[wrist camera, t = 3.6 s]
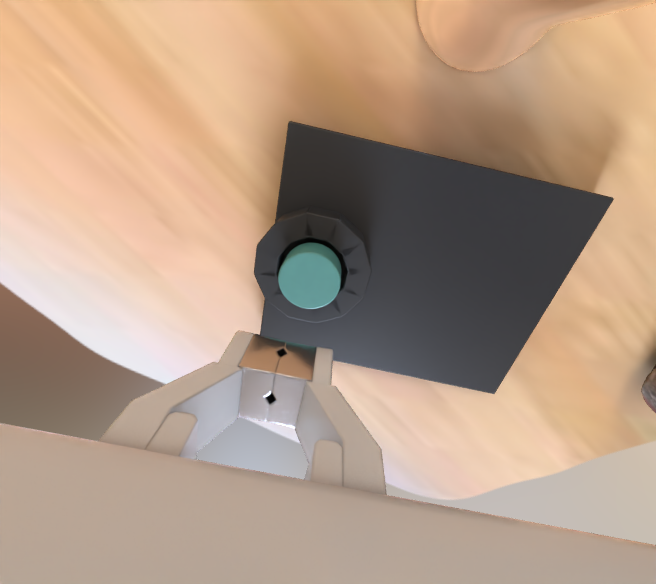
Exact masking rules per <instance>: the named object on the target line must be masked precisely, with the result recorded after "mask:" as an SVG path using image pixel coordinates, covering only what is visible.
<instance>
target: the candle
mask: <svg viewBox="0 0 656 584" xmlns="http://www.w3.org/2000/svg"><path fill="white" fill-rule="evenodd" d="M641 392H642V394H643V397H644V400H645V402H646V403H647V405H648V406H649V407H650V408H651V409H652V410H653V411H654V412H655V413H656V365H655V367H654V368H653V370H652V372H651V373H650V374H649V375H648V376H647V378H646V380H645V381H644V384H643V387H642V389H641Z"/></svg>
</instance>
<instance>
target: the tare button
mask: <svg viewBox="0 0 656 584" xmlns="http://www.w3.org/2000/svg"><path fill="white" fill-rule="evenodd" d="M278 282H279V286H280V289H281V291H282V293H283V295H284V296H285V297H286V298H287V299H288V300H289V301H290V302H291V303H293V304H294V305H296V306H299V307H301V308H306V309H316V308H320V307H323V306H325V305H327V304H329V303H330V302H331V301H333V300H334V298H335V297H336V296H337V294H338V292H339V289H340V285H341V264H340V261H339V259H338V257H337V256H336V254H335V253H334V252H333V251H332V250H331V249H330V248H328V247H326V246H324V245H322V244H319V243H304V244H301V245H298V246H296V247H295V248H293V249H292V250H291V251H290V252H289V254H288V255H287V257H286V259H285V261H284V262H283V264H282V266H281V268H280V271H279V275H278Z"/></svg>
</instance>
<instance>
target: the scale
mask: <svg viewBox="0 0 656 584" xmlns="http://www.w3.org/2000/svg"><path fill="white" fill-rule="evenodd" d="M612 201H613V198H612V197H608V196H604V195H600V194H596V193H591V192H587V191H583V190H579V189H574V188H570V187H566V186H562V185H558V184H553V183H549V182H545V181H541V180H537V179H532V178H528V177H524V176H520V175H516V174H511V173H507V172H503V171H499V170H494V169H490V168H486V167H482V166H478V165H473V164H469V163H465V162H461V161H457V160H452V159H448V158H444V157H440V156H435V155H431V154H427V153H423V152H419V151H414V150H410V149H406V148H402V147H398V146H393V145H389V144H385V143H381V142H376V141H372V140H368V139H364V138H360V137H355V136H351V135H347V134H343V133H339V132H334V131H330V130H326V129H322V128H317V127H313V126H309V125H305V124H301V123H296V122H292V121H289V123H288V130H287V137H286V145H285V152H284V160H283V167H282V175H281V182H280V190H279V197H278V205H277V212H276V219H275V224H274V225H273V226H272V227H271V229H270V230H269V231H268V232H267V233H266V235H265V236H264V237H263V238H262V239H261V241H260V242H259V243H258V244H257V249H256V258H255V267H254V273H255V274H254V275H255V277H256V279H257V282H258V284H259V286H260V288H261V290H262V292H263V295H264V297H265V302H264V309H263V316H262V324H261V331H260V335H263V336H267V337H271V338H276V339H280V340H284V341H288V342H293V343H298V344H303V345H308V346H313V347H321V348H327V349H332V350H333V360H334V361H339V362H344V363H348V364H353V365H358V366H363V367H368V368H372V369H377V370H382V371H387V372H391V373H396V374H401V375H406V376H411V377H415V378H420V379H425V380H430V381H434V382H439V383H444V384H449V385H454V386H458V387H463V388H468V389H473V390H478V391H482V392H487V393H492V394H494V393H495V392H496V390H497V389H498V387H499V386H500V384H501V382H502V381H503V379H504V377H505V376H506V374H507V372H508V371H509V369H510V368H511V366H512V364H513V363H514V361H515V359H516V358H517V356H518V355H519V353H520V351H521V350H522V348H523V346H524V345H525V343H526V341H527V340H528V338H529V337H530V335H531V333H532V332H533V330H534V328H535V327H536V325H537V324H538V322H539V320H540V319H541V317H542V315H543V314H544V312H545V311H546V309H547V307H548V306H549V304H550V302H551V301H552V299H553V297H554V296H555V294H556V293H557V291H558V289H559V288H560V286H561V284H562V283H563V281H564V280H565V278H566V276H567V275H568V273H569V271H570V270H571V268H572V267H573V265H574V263H575V262H576V260H577V258H578V257H579V255H580V253H581V252H582V250H583V249H584V247H585V245H586V244H587V242H588V240H589V239H590V237H591V236H592V234H593V232H594V231H595V229H596V227H597V226H598V224H599V222H600V221H601V219H602V218H603V216H604V214H605V213H606V211H607V209H608V208H609V206H610V205H611V203H612ZM304 243H319V244H322V245H324V246H326V247H328V248H330V249H331V250H332V251H333V252H334V253H335V254H336V256H337V257H338V259H339V261H340V264H341V285H340V289H339V292H338V294H337V296H336V297H335V298H334V300H333V301H331V302H330V303H329V304H327V305H325V306H323V307H320V308H316V309H306V308H301V307H299V306H296V305H294V304H293V303H291V302H290V301H289V300H288V299H287V298H286V297H285V296H284V295H283V293H282V291H281V289H280V286H279V282H278V275H279V271H280V268H281V266H282V264H283V262H284V261H285V259H286V257H287V255H288V254H289V252H290V251H291V250H292V249H293V248H295V247H296V246H298V245H301V244H304Z"/></svg>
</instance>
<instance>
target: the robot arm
mask: <svg viewBox="0 0 656 584" xmlns="http://www.w3.org/2000/svg"><path fill="white" fill-rule="evenodd" d="M332 362H333V350H332V349H327V348H321V347H313V346H308V345H303V344H298V343H293V342H288V341H284V340H280V339H276V338H271V337H267V336H263V335H258V334H253V333H249V332H244V331H237V332H236V333H235V335H234V337H233V338H232V340H231V342H230V344H229V345H228V347H227V349H226V350H225V352H224V354H223V356H222V357H221V359H220V361H219V362H218V363H216V362H212V363H210V364H208V365H206V366H204V367H202V368H200V369H197V370H195V371H193V372H191V373H189V374H187V375H185V376H183V377H181V378H178V379H176V380H174V381H172V382H170V383H168V384H166V385H164V386H162V387H160V388H157V389H155V390H153V391H151V392H149V393H147V394H145V395H143V396H141V397H139V398H136V399H134V400H133V401H131V402H130V403H129V405H128V406H127V407H126V408H125V409H124V410H123V412H122V413H121V414H120V415H119V417H118V418H117V419H116V420H115V421H114V422H113V424H112V425H111V426H110V427H109V428H108V430H107V431H106V432H105V433H104V434H103V436H102V437H101V438H100V439H99V440H98V441H94V440H88V439H83V438H77V437H71V436H67V435H61V434H56V433H51V432H45V431H40V430H35V429H29V428H24V427H18V426H13V425H8V424H2V423H0V584H656V545H652V544H647V543H641V542H635V541H630V540H625V539H619V538H614V537H609V536H604V535H598V534H592V533H587V532H582V531H577V530H571V529H566V528H561V527H555V526H550V525H544V524H539V523H534V522H528V521H523V520H518V519H512V518H507V517H502V516H496V515H491V514H485V513H480V512H475V511H469V510H463V509H459V508H453V507H448V506H442V505H437V504H431V503H426V502H421V501H415V500H410V499H405V498H400V497H394V496H389V495H387V494H386V485H385V477H384V468H383V459H382V450H381V448H380V447H379V446H378V444H377V443H376V441H375V440H374V439H373V437H372V436H371V434H370V433H369V432H368V430H367V429H366V428H365V426H364V425H363V423H362V422H361V421H360V419H359V418H358V416H357V415H356V414H355V412H354V411H353V410H352V408H351V407H350V405H349V404H348V403H347V401H346V400H345V399H344V397H343V396H342V394H341V393H340V392H339V390H338V389H337V387H336V386H331V379H332ZM238 417H241V418H247V419H253V420H259V421H265V422H270V423H274V424H279V425H283V426H288V427H292V428H295V431H296V433H297V436H298V438H299V441H300V443H301V446H302V448H303V451H304V453H305V456H306V458H307V461H308V463H309V465H308V468H307V472H306V475H305V479H304V480H302V479H297V478H292V477H287V476H281V475H276V474H271V473H266V472H260V471H255V470H249V469H244V468H238V467H233V466H228V465H223V464H217V463H212V462H206V461H201V460H196V456H197V455H196V454H197V452H198V451H200V450H201V449H202V448H203V447H204V446H206V445H207V444H208V443H209V442H210V441H211V440H213V439H214V438H215V437H216V436H217V435H219V434H220V433H221V432H222V431H223V430H225V429H226V428H227V427H228V426H229V425H231V424H232V423H233V422H234V421H235V420H236V419H237V418H238Z"/></svg>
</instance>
